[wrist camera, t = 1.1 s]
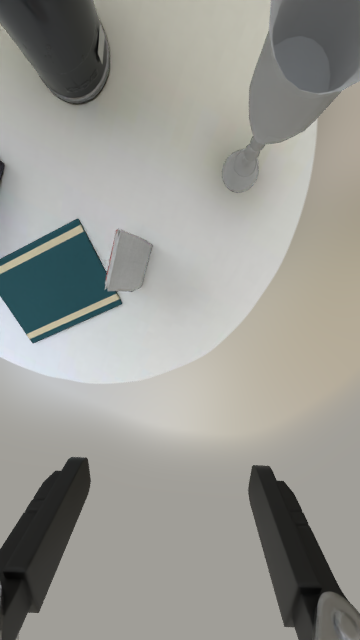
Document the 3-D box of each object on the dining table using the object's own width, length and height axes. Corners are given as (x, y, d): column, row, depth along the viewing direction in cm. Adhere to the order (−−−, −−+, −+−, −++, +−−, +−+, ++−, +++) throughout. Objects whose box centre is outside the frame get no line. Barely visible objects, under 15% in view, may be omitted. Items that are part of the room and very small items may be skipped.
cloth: (-16, 268, 31) (-19, 268, 31) (78, 219, 29) (77, 218, 29) (34, 342, 35) (32, 343, 34) (122, 303, 32) (121, 304, 32)
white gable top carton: (152, 244, 30) (137, 234, 20) (141, 286, 32) (122, 296, 22) (129, 236, 30) (102, 223, 20) (119, 279, 31) (90, 285, 22)
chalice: (238, 211, 28) (324, 127, 11) (204, 176, 27) (239, 21, 10) (276, 166, 27) (448, -16, 9) (241, 127, 26) (362, -161, 8)
